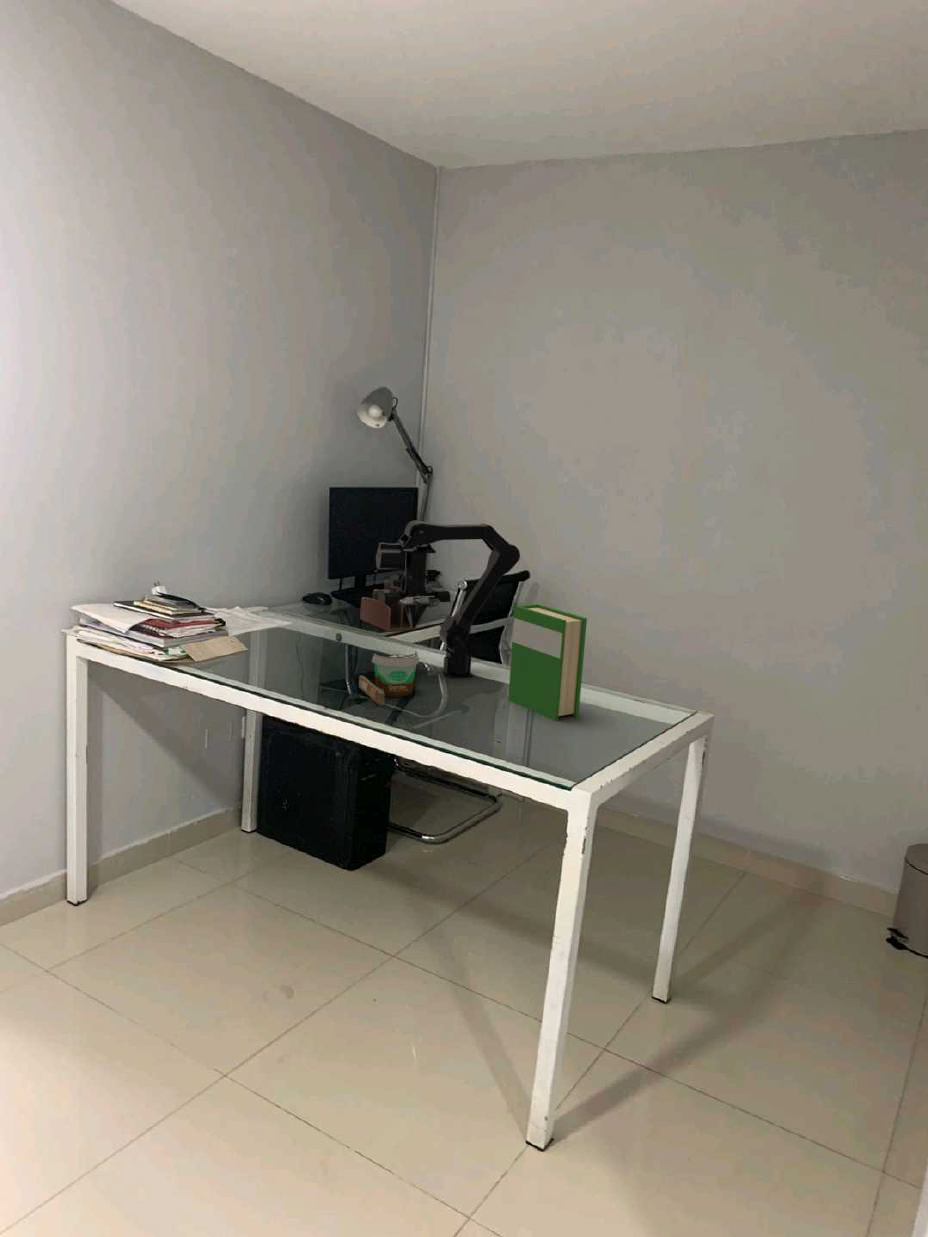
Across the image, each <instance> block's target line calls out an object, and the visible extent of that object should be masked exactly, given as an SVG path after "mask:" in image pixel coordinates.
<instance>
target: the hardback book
mask: <svg viewBox="0 0 928 1237" xmlns="http://www.w3.org/2000/svg"><path fill="white" fill-rule="evenodd" d="M513 614H514V615H513V628H512V629H513V630H512V642H511V656H510V669H509V670H510V671H509V672H510V673H509V682H508V683H509V684H508V685H509V686H508V697H507V698H508V699H507V701H508V702H509V701H510V702H511V703H513V704H516V705H517V706H520V707H523V708H525V709H527V710H530V711H531V712H535V713H537V714H539V715H541V716H543V717H546V718H548V719H551V720H553V721H554V722H555V721H558V720H559V717H562V716H567V715H570V716H573V717H575V718H578V717H579V713H580V703H581V694H582V693H581V691H582V679H583V668H584V667H583V666H584V656H585V647H586V645H585V644H586V634H587V622H588V618H587V617H585V616H581V615H577V614H574V613H570V612H567V611H565V610H560V609H557V608H554V607H549V606H547V605H543V604H539V603H533V604H522V605H520V604H519V605H514V613H513Z"/></svg>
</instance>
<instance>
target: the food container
mask: <svg viewBox="0 0 928 1237" xmlns="http://www.w3.org/2000/svg"><path fill="white" fill-rule="evenodd" d="M371 662H372V663H373V664H374V677H375V678H374V679H375V686H376V687H377V688H379V689H380V690H381V691H382V692H383V693H384V694H385V696H384V697H393V698H394V697H395V698H396V697H397V698H398V697H399V698H400V697H406V696H410V695H412V693H413V688H414V683H415V676H416V669H417V665H418V664H419V663H420V658H419V654H418V651H416V650H415V651H414V654H395V653H394V654H390V655H387V656H382V655H378V654H376V653H373V656H372V658H371Z"/></svg>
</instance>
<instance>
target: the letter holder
mask: <svg viewBox="0 0 928 1237" xmlns="http://www.w3.org/2000/svg"><path fill="white" fill-rule="evenodd" d="M383 586H384V589H383V590H387V589H393V590H395V591H397V590H396V588H391V587H390V579H389V580H385V581H384V585H383ZM380 590H381V589H378V588H377V589H374V590H373V591H372V597H367V596H365V597H364V596H362V598H361V600H360V611H359V612H360V615H359V619H360V620H361V621H363V622H365V623H367V624H370V625H371V626H374V627H377V628H379V629H381V630H383V631H386V632H387V633H392V632H404V631H406V632H407V631H414V630H415V629H416V627H415V628H411V626H410V622H409V619H408V615H407V612H406V610H405V608H404V606H403V605H402V604H400V603H397V604H385V603H383V602H381V601H379V600H378V593H379V591H380ZM399 593H404V591H401V592H399ZM414 600H415V599H414Z"/></svg>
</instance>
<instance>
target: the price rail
mask: <svg viewBox="0 0 928 1237" xmlns="http://www.w3.org/2000/svg"><path fill="white" fill-rule="evenodd" d="M358 679H359V681H358V688H359V689H360V690H361V691H363V692H364V693H365V694H366V695H367V696H368V697H369V698H371V700H372V701H374V702H375V703H376V704H377V705H378V706H379V707H384V706H385V697H386V696H385V694H384V693H383V692H382V691H381V690H380V689H379V688H377V687H376V684H375V683H373V682H372V681H370V680H369V679H368V678H367V677H366V676H364V675H359V678H358Z"/></svg>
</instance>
